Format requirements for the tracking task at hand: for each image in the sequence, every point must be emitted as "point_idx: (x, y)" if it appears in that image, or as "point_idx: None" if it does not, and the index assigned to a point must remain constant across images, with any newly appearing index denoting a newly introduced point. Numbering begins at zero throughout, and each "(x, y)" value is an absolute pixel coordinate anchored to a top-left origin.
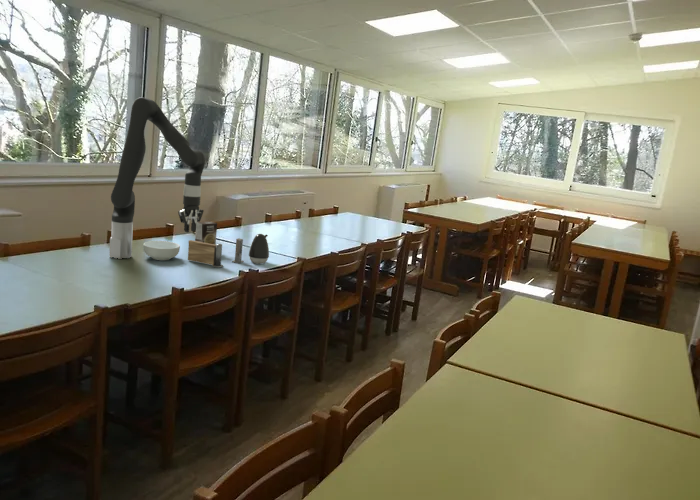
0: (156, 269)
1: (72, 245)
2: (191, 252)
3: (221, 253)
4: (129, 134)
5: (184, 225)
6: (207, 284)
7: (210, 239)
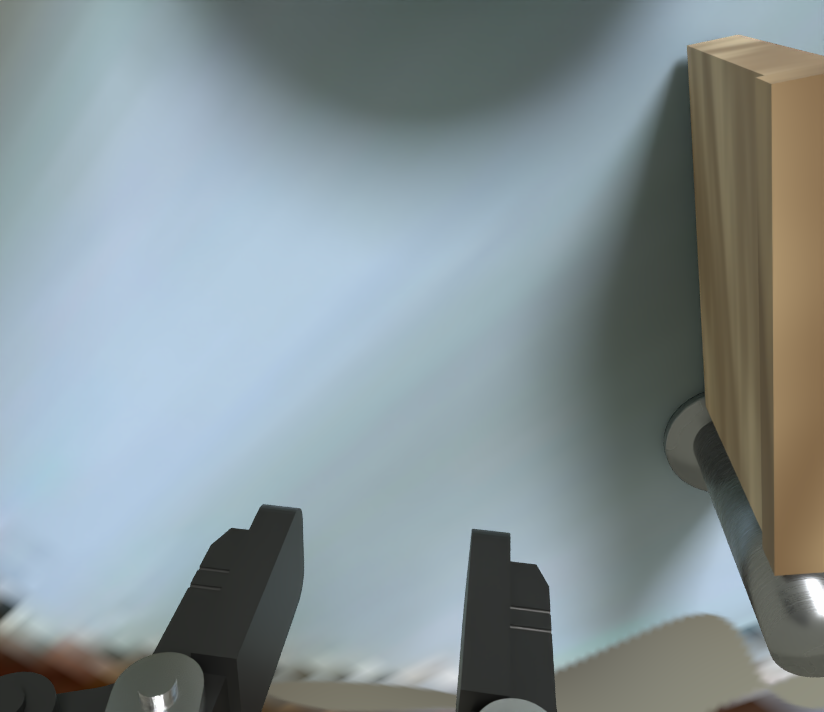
0: (88, 110)
1: None
2: (718, 122)
3: None
4: None
5: (167, 632)
6: None
7: None
